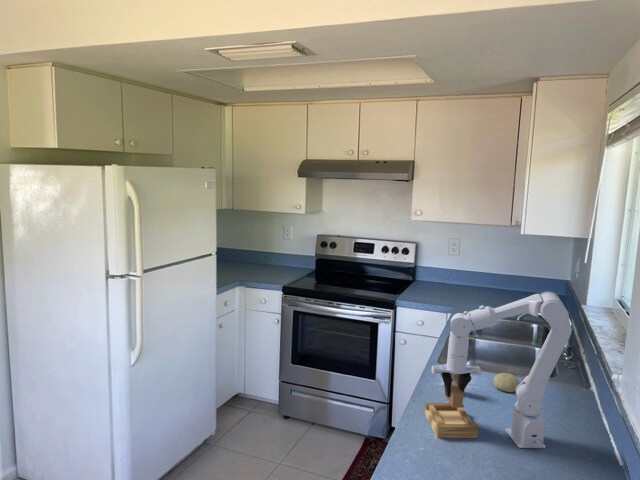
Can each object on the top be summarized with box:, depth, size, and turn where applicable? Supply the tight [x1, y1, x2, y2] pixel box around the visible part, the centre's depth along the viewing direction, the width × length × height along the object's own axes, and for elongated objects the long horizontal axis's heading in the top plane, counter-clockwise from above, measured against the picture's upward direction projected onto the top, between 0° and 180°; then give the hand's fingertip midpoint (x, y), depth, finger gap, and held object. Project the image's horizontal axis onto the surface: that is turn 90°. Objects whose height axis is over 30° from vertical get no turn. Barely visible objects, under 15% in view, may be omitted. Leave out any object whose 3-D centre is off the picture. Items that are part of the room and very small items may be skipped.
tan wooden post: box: [443, 381, 465, 408], centre depth 151 cm, size 8×3×4 cm, turn 4°
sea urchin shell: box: [492, 372, 521, 393], centre depth 179 cm, size 9×8×8 cm
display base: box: [423, 402, 479, 439], centre depth 152 cm, size 14×12×4 cm
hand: (453, 395), depth 151 cm, fingers closed on tan wooden post, 3 cm apart
